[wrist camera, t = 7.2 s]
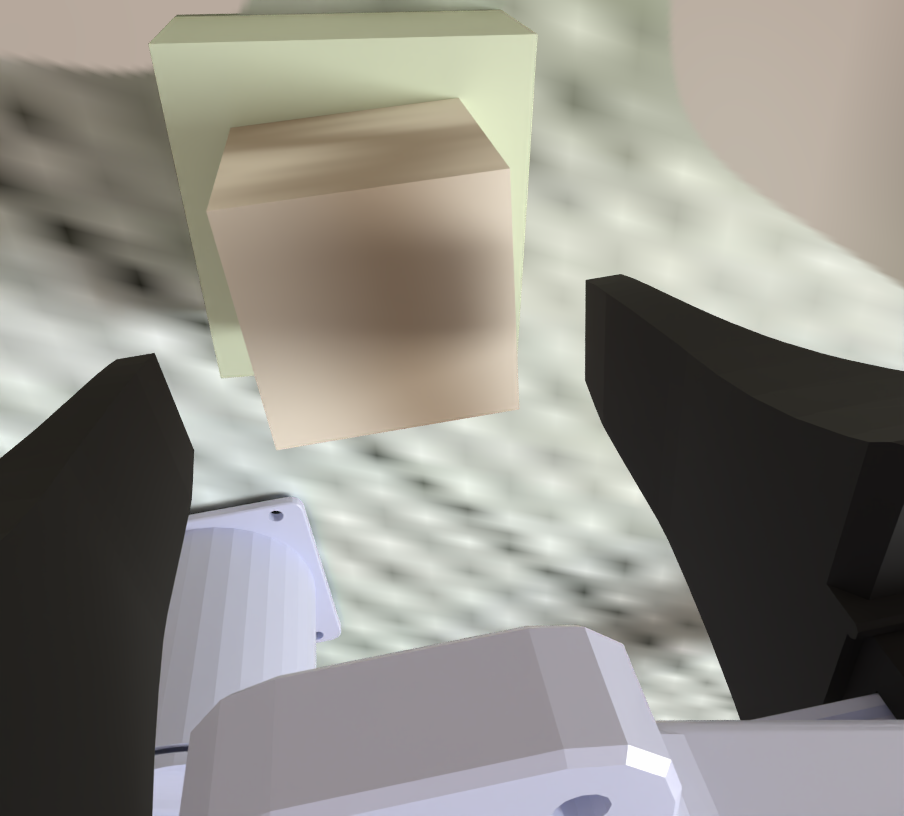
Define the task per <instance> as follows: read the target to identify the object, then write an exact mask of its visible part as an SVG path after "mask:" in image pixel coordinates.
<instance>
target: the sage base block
mask: <svg viewBox="0 0 904 816" xmlns="http://www.w3.org/2000/svg"><path fill="white" fill-rule="evenodd" d="M238 14H239V13H235V14H190V15H189V14H186V15H176V16H175V17H174V18H173V19H172V20H171V21H170V22H169V23H168V24H167V25H166V26H165V28H164V29H163V30H162V31H161V32H160V33H159V34H158V35H157V36H156V37H155V38H154V39H153V40H152V41H151V42H150V43H149V49H150V54H151V58H152V63H153V68H154V72H155V77H156V82H157V86H158V91H159V95H160V100H161V105H162V109H163V114H164V118H165V123H166V128H167V132H168V137H169V141H170V146H171V151H172V155H173V160H174V164H175V169H176V174H177V178H178V183H179V188H180V192H181V197H182V201H183V206H184V211H185V215H186V220H187V224H188V229H189V234H190V238H191V243H192V247H193V252H194V257H195V261H196V266H197V270H198V275H199V280H200V284H201V289H202V293H203V298H204V303H205V307H206V312H207V316H208V321H209V326H210V330H211V335H212V339H213V344H214V349H215V353H216V358H217V363H218V367H219V372H220V376H221V378H232V377H244V376H255V375H254V372H253V369H252V365H251V362H250V358H249V355H248V352H247V348H246V345H245V341H244V338H243V335H242V331H241V328H240V324H239V321H238V318H237V314H236V311H235V307H234V304H233V301H232V297H231V294H230V290H229V287H228V284H227V280H226V277H225V273H224V270H223V267H222V263H221V260H220V256H219V253H218V250H217V246H216V243H215V239H214V236H213V233H212V229H211V226H210V222H209V219H208V216H207V212H206V210H207V207H208V203H209V200H210V196H211V193H212V190H213V186H214V183H215V179H216V176H217V172H218V169H219V165H220V162H221V159H222V155H223V152H224V148H225V145H226V141H227V138H228V134H229V131H230V128H233V127H240V126H248V125H255V124H263V123H271V122H278V121H286V120H293V119H301V118H308V117H316V116H323V115H331V114H339V113H346V112H354V111H361V110H369V109H376V108H384V107H392V106H399V105H407V104H415V103H422V102H430V101H438V100H445V99H453V98H459V99H460V100H461V102H462V103H463V104H464V106H465V107H466V109H467V110H468V111H469V113H470V114H471V115H472V117H473V118H474V120H475V121H476V122H477V124H478V125H479V126H480V128H481V129H482V130H483V132H484V133H485V135H486V136H487V137H488V139H489V140H490V141H491V143H492V144H493V146H494V147H495V148H496V150H497V151H498V152H499V154H500V155H501V157H502V158H503V159H504V161H505V162H506V163H507V165H508V166H509V168H510V180H511V206H512V232H513V258H514V285H515V311H516V337H517V351H518V335H519V319H520V304H521V288H522V272H523V256H524V240H525V224H526V208H527V192H528V176H529V160H530V144H531V129H532V113H533V97H534V81H535V65H536V49H537V34H536V33H535V32H533V31H532V30H530V29H529V28H527V27H526V26H524V25H523V24H521V23H520V22H519V21H517V20H516V19H514V18H513V17H511V16H510V15H508V14H507V13H505V12H504V11H502V10H472V11H424V12H375V13H327V14H278V15H238Z"/></svg>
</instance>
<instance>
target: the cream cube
mask: <svg viewBox="0 0 904 816" xmlns="http://www.w3.org/2000/svg"><path fill="white" fill-rule="evenodd" d="M206 212H207V216H208V219H209V222H210V226H211V229H212V233H213V236H214V239H215V243H216V246H217V250H218V253H219V256H220V260H221V263H222V267H223V270H224V273H225V277H226V280H227V284H228V287H229V290H230V294H231V297H232V301H233V304H234V307H235V311H236V314H237V318H238V321H239V324H240V328H241V331H242V335H243V338H244V341H245V345H246V348H247V352H248V355H249V358H250V362H251V365H252V369H253V372H254V375H255V379H256V382H257V386H258V389H259V392H260V396H261V399H262V403H263V406H264V409H265V413H266V416H267V420H268V423H269V426H270V430H271V433H272V437H273V440H274V443H275V447H276V450H281V449H287V448H293V447H299V446H305V445H311V444H317V443H323V442H328V441H334V440H340V439H346V438H352V437H358V436H364V435H370V434H376V433H382V432H388V431H393V430H399V429H405V428H411V427H417V426H423V425H429V424H435V423H441V422H447V421H453V420H458V419H464V418H470V417H476V416H482V415H488V414H494V413H500V412H506V411H512V410H518V409H519V390H518V364H517V337H516V311H515V285H514V258H513V232H512V206H511V180H510V168H509V166H508V165H507V163H506V162H505V161H504V159H503V158H502V157H501V155H500V154H499V152H498V151H497V150H496V148H495V147H494V146H493V144H492V143H491V141H490V140H489V139H488V137H487V136H486V135H485V133H484V132H483V130H482V129H481V128H480V126H479V125H478V124H477V122H476V121H475V120H474V118H473V117H472V115H471V114H470V113H469V111H468V110H467V109H466V107H465V106H464V104H463V103H462V102H461V100H460V99H459V98H453V99H445V100H438V101H430V102H422V103H415V104H407V105H399V106H392V107H384V108H376V109H369V110H361V111H354V112H346V113H339V114H331V115H323V116H316V117H308V118H301V119H293V120H286V121H278V122H271V123H263V124H255V125H248V126H240V127H233V128H230V131H229V134H228V138H227V141H226V145H225V148H224V152H223V155H222V159H221V162H220V165H219V169H218V172H217V176H216V179H215V183H214V186H213V190H212V193H211V196H210V200H209V203H208V207H207V210H206Z"/></svg>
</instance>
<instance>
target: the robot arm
mask: <svg viewBox="0 0 904 816" xmlns="http://www.w3.org/2000/svg"><path fill="white" fill-rule="evenodd" d="M585 381H586V384H587V387H588V389H589V392H590V394H591V397H592V400H593V402H594V405H595V407H596V410H597V412H598V415H599V417H600V420H601V422H602V424H603V427H604V428H605V430H606V432H607V434H608V435H609V437H610V439H611V441H612V442H613V444H614V446H615V448H616V449H617V451H618V453H619V455H620V456H621V458H622V460H623V462H624V463H625V465H626V467H627V468H628V470H629V472H630V473H631V475H632V477H633V479H634V480H635V482H636V484H637V485H638V487H639V489H640V490H641V492H642V494H643V496H644V497H645V499H646V501H647V502H648V504H649V506H650V507H651V509H652V511H653V513H654V514H655V516H656V518H657V519H658V521H659V523H660V525H661V527H662V529H663V531H664V533H665V535H666V537H667V539H668V541H669V543H670V545H671V547H672V550H673V552H674V554H675V557H676V559H677V561H678V563H679V566H680V568H681V570H682V573H683V575H684V577H685V579H686V582H687V584H688V586H689V589H690V591H691V594H692V596H693V598H694V601H695V603H696V606H697V608H698V611H699V613H700V615H701V618H702V620H703V623H704V625H705V628H706V630H707V633H708V635H709V637H710V640H711V643H712V645H713V648H714V650H715V653H716V656H717V658H718V661H719V664H720V666H721V669H722V671H723V674H724V677H725V679H726V682H727V685H728V687H729V690H730V692H731V695H732V698H733V700H734V703H735V706H736V709H737V712H738V715H739V717H740V720H688V721H655V720H654V717H653V715H652V712H651V710H650V708H649V705H648V703H647V700H646V698H645V695H644V693H643V691H642V688H641V686H640V683H639V681H638V679H637V676H636V674H635V671H634V669H633V666H632V664H631V662H630V659H629V657H628V654H627V652H626V650H625V647H624V645H623V644H622V643H620V642H618V641H615V640H613V639H611V638H609V637H606V636H604V635H602V634H600V633H597V632H595V631H593V630H591V629H588V628H586V627H583V626H579V625H550V626H524V627H519V628H514V629H509V630H504V631H499V632H494V633H489V634H484V635H479V636H474V637H469V638H464V639H459V640H455V641H450V642H445V643H440V644H435V645H430V646H425V647H420V648H415V649H410V650H405V651H400V652H395V653H390V654H385V655H380V656H375V657H370V658H365V659H360V660H355V661H350V662H345V663H340V664H335V665H330V666H325V667H320V668H316V643H318V642H323V641H328V640H332V639H335V638H337V637H338V636H339V635H340V634H341V624H340V620H339V617H338V614H337V611H336V607H335V604H334V601H333V598H332V594H331V591H330V588H329V585H328V581H327V578H326V575H325V572H324V569H323V565H322V562H321V559H320V556H319V552H318V549H317V546H316V543H315V539H314V536H313V533H312V530H311V526H310V523H309V520H308V517H307V513H306V510H305V507H304V504H303V502H302V501H301V500H299V499H298V498H295V497H284V498H279V499H273V500H268V501H262V502H257V503H252V504H246V505H241V506H235V507H230V508H224V509H219V510H213V511H208V512H202V513H197V514H192V515H189V511H190V506H191V500H192V485H193V464H194V449H193V447H192V444H191V442H190V439H189V437H188V434H187V432H186V429H185V427H184V425H183V422H182V420H181V417H180V415H179V412H178V410H177V407H176V405H175V402H174V400H173V397H172V395H171V392H170V390H169V388H168V385H167V383H166V380H165V378H164V375H163V373H162V370H161V368H160V365H159V363H158V360H157V358H156V356H155V353H152V354H146V355H140V356H134V357H128V358H122V359H117V360H115V361H114V362H112V363H111V364H109V365H108V366H107V367H105V368H104V369H103V370H102V371H101V372H99V373H98V374H97V375H96V376H95V377H94V378H92V379H91V380H90V381H89V382H88V383H87V384H86V385H84V386H83V387H82V388H81V389H80V390H79V391H78V392H77V393H76V394H75V395H73V396H72V397H71V398H70V399H69V400H68V401H67V402H66V403H65V404H63V405H62V406H61V407H60V408H59V409H58V410H57V411H56V412H54V413H53V414H52V415H51V416H50V417H49V418H48V419H47V420H46V421H44V422H43V423H42V424H41V425H40V426H39V427H38V428H37V429H35V430H34V431H33V432H32V433H31V434H29V435H28V436H27V437H26V438H24V439H23V440H22V441H21V442H20V443H18V444H17V445H16V446H15V447H14V448H12V449H11V450H10V451H9V452H7V453H6V454H5V455H4V456H3V457H1V458H0V816H904V371H900V370H894V369H888V368H884V367H879V366H874V365H869V364H865V363H860V362H855V361H851V360H846V359H842V358H838V357H834V356H830V355H826V354H822V353H818V352H815V351H812V350H808V349H805V348H802V347H798V346H795V345H792V344H788V343H785V342H782V341H779V340H776V339H773V338H770V337H767V336H764V335H761V334H759V333H756V332H754V331H751V330H748V329H746V328H743V327H741V326H738V325H736V324H733V323H730V322H728V321H726V320H723V319H721V318H719V317H716V316H714V315H712V314H709V313H707V312H705V311H703V310H700V309H698V308H696V307H694V306H692V305H689V304H687V303H685V302H683V301H681V300H679V299H677V298H674V297H672V296H670V295H668V294H666V293H664V292H662V291H660V290H658V289H655V288H653V287H651V286H649V285H647V284H645V283H642V282H640V281H638V280H636V279H633V278H631V277H628V276H625V275H622V274H619V275H613V276H607V277H601V278H595V279H589V280H586V318H585ZM273 511H280V512H282V513H279V514H274V513H271V512H273Z"/></svg>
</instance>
